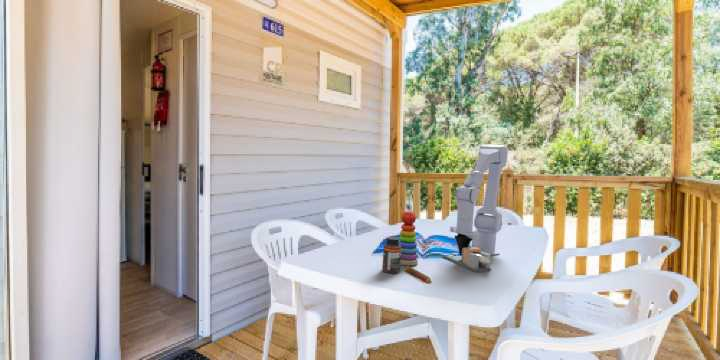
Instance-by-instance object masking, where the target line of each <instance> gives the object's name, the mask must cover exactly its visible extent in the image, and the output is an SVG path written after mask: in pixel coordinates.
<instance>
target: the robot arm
mask: <svg viewBox="0 0 720 360" xmlns="http://www.w3.org/2000/svg"><path fill="white" fill-rule="evenodd" d="M507 148H508V147H507V146H506V145H505V144H502V145H496V144H481V145H480V146H479V148H478V161H477V163H476V166H475V168H474V170H471V171H470V172H469V173H468V174H467V177H466V178H465V180H464V181H463V182H464V183H463V184H462V185H461V186H459V187H457V189H456V193H455V199H456V206H457V213H456V215H457V216H456V226H452V225H451V226H449V232H450V233H455V234H457V235H454V239H455V241H456V245H457V248H458V254H460V255H462V254H461V252H462V248H463V247H478V248H480V249H481V252H485V253H488V254H491V256H493V255H494V256H495V255H496V256H497V255H500V254H501V253H500V252H498V251H496V243H497V234H498V233H499V232H501V229H502V226H503V219H502V218H503V214H502V213H501V211H499V210H498V208H497V203H498V198H499V197H498V196H499V190H500V184H501V176H502V170H503V168H505V167H506V166H507V160H508V153H509V152H508V149H507ZM487 169H488V174H487V180H486V185H485V186H486V187H485V193H484V201H483V205H482V207H481V208H479V209H477V210H476V214H475V213H474V212H475V203H476V202H477V201H478V199H479V193H480V188H481V185H482V184H483V182H484V180H485V177H484V174H485V172H486V171H487ZM474 214H475V216H474ZM473 226H474V228H475V230H474V231H473ZM470 244H471V246H469V245H470Z"/></svg>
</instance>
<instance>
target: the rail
mask: <svg viewBox="0 0 720 360" xmlns="http://www.w3.org/2000/svg"><path fill="white" fill-rule="evenodd" d="M451 254H452V255H453V256H456V255H459V252H454V253H453V252H452V253H451ZM479 255H481V256H484V257H486V258H489V259H490V260H491V261H492V259H491V258H492V255H491V254H488V253H485V252H479ZM479 255H477V254H474V253H472V252H471V253H467V264H465V263H463V262H462V261H461V259H462V257H452V256H444V257H443V259H446V260H449V261H450V262H452V263H455V264H457V265H459V266H461V267H463V268H465V269H468V270H469V271H472V272H474V273H477V272H479V273H480V272H487V271H488V272H489V271H492V267H491V264H490V265H489V266H486V265H483V264H481V263H479Z"/></svg>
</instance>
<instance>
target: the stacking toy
mask: <svg viewBox="0 0 720 360" xmlns="http://www.w3.org/2000/svg"><path fill="white" fill-rule="evenodd" d="M416 219H417V216H416V214H415V213H414V212H413V211H411V210H405V212H403V213H402V214H401V221H402V222H401V223H402V225H401V226H400V227H401V230H400V231H399V234H400V236H399V237H398V238H399V244H400V245H401V265H403V266H406V267H407V266H409V267H411V266H415V265H417V264H418V263H419V259H418V256H419V255H418V253H417V252H418V248H417V246H418V243H417V236H416V233H417V232H416V231H415V230H416V225H415V224H414V223H416ZM401 265H400V266H401Z"/></svg>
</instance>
